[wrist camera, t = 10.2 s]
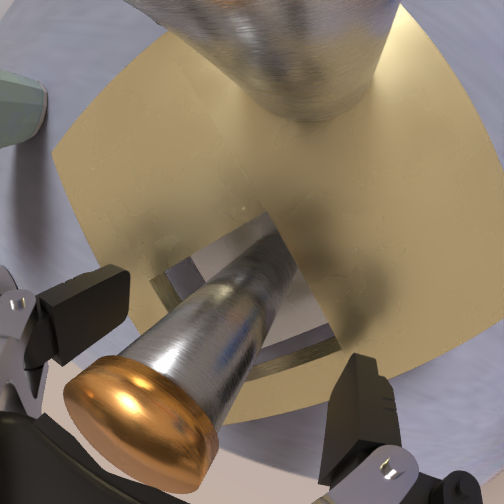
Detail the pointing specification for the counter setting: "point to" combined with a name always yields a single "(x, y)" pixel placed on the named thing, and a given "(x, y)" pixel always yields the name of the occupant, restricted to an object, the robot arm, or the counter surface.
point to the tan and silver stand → (298, 181)
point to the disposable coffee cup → (20, 108)
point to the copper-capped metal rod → (183, 373)
